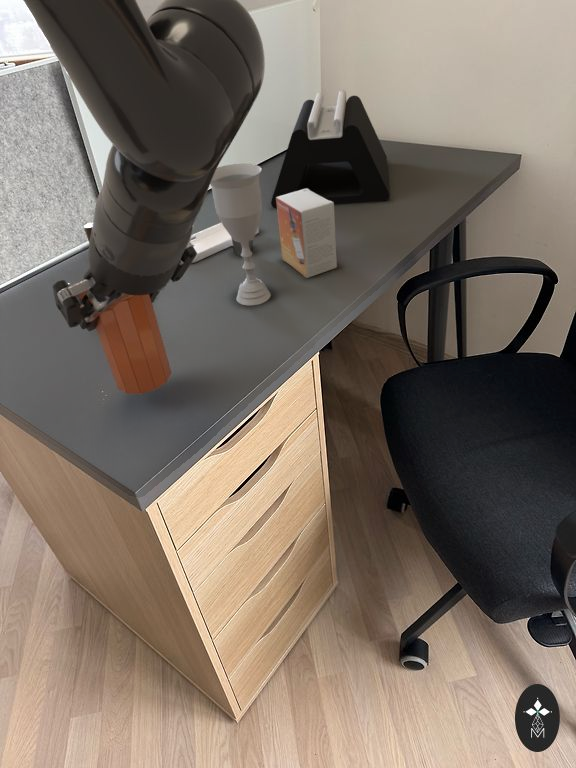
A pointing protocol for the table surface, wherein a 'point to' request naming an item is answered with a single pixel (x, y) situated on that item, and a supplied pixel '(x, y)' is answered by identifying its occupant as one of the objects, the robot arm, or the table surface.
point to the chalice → (241, 219)
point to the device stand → (335, 154)
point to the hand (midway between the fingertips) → (116, 309)
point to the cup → (134, 345)
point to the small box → (307, 232)
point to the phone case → (211, 241)
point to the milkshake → (239, 246)
